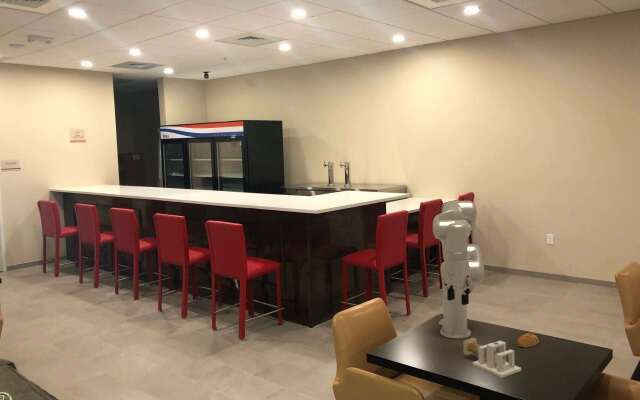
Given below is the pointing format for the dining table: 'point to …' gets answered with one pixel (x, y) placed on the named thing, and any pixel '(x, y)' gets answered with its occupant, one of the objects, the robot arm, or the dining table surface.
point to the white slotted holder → (497, 360)
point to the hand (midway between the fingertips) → (458, 301)
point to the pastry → (527, 340)
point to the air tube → (476, 348)
